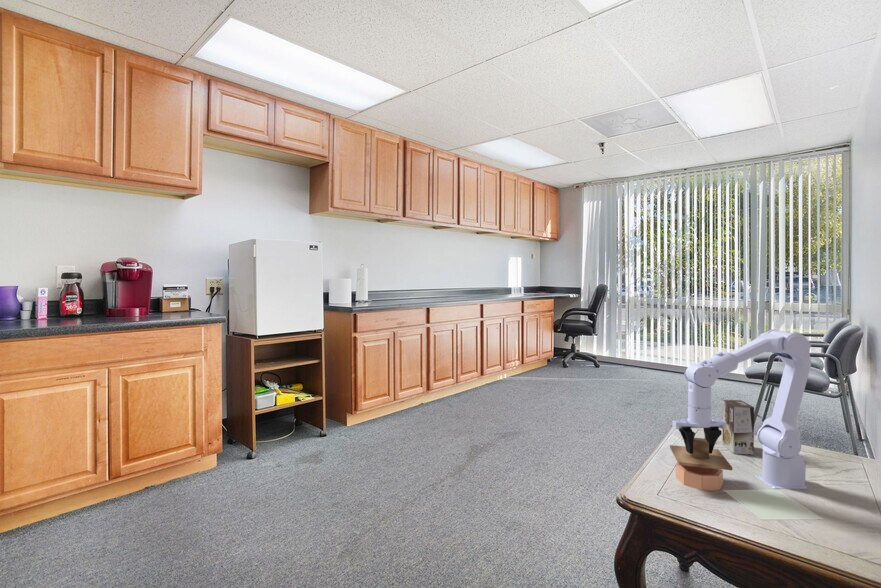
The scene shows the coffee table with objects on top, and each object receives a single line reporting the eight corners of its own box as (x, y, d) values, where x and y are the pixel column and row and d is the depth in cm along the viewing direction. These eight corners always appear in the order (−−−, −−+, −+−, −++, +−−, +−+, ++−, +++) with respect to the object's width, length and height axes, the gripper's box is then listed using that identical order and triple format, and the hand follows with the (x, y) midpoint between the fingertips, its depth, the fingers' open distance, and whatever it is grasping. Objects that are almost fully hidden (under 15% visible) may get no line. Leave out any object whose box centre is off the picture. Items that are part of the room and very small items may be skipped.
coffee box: (754, 455, 146) (755, 407, 146) (733, 454, 147) (733, 406, 147) (741, 444, 155) (742, 399, 154) (721, 443, 156) (722, 399, 156)
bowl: (706, 473, 133) (706, 459, 133) (730, 491, 122) (730, 475, 122) (670, 474, 133) (670, 459, 133) (690, 492, 122) (690, 476, 122)
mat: (777, 491, 122) (777, 489, 122) (823, 521, 107) (823, 519, 107) (723, 491, 122) (723, 490, 122) (761, 521, 107) (761, 519, 107)
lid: (718, 452, 131) (718, 434, 131) (732, 470, 119) (732, 451, 119) (670, 447, 135) (670, 430, 135) (679, 464, 123) (679, 446, 123)
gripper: (716, 401, 131) (715, 446, 131) (667, 402, 131) (667, 447, 131) (731, 409, 124) (731, 456, 124) (679, 409, 124) (679, 456, 124)
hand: (699, 452), depth 127 cm, fingers closed on lid, 5 cm apart
